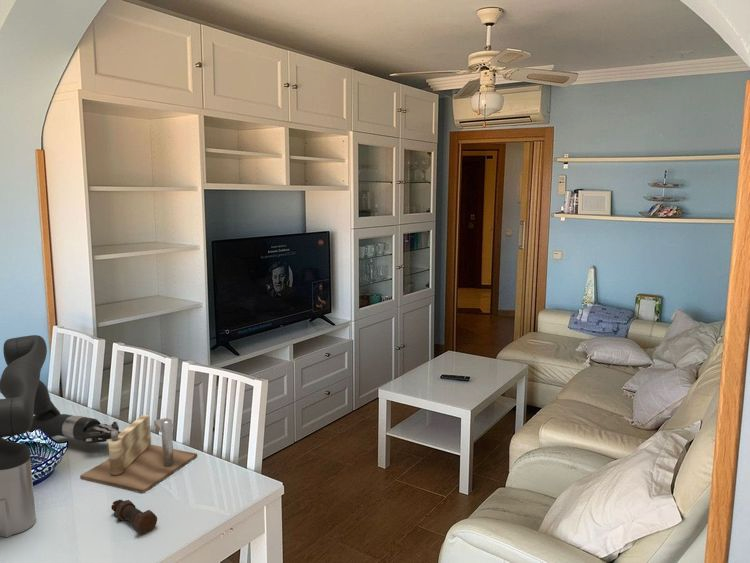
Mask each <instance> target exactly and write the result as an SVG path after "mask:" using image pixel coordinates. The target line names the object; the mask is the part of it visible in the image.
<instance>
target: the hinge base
mask: <svg viewBox="0 0 750 563" xmlns="http://www.w3.org/2000/svg"><path fill="white" fill-rule="evenodd" d="M111 438H112V440H113V441H115V440H118V431H117V430H114V431H111ZM197 457H198V453H196V452H190V451H187V450H181V449H176V448H173V458H174V465H173V466H170V467H164V466H163V449H162V445H156V444H151V445H150V446H149V447H148V448H147V449H146V450H145V451H143V452H142V453H141V454H140V455H139V456H138V457H137V458H136V459H135V460H134V461H133V462H132V463H131V464H130V465H128V466H127V467H126V468H125V469H124V472H123V473H122V474H119V475H111V473H110V459H109V458H108V459H106V460H105V461H103V462H102V463H100V464H98V465H96V466H94V467H93V468H90V469H89V470H87V471H86V472H85V471H84V473H81V474H80V475H79V478H80V479H81V480H84V481H89V482H93V483H97V484H102V485H106V486H110V487H114V488H119V489H122V490H127V491H131V492H136V493H140V494H145V493H146V492H148V491H149V490H151V489H152V488H154V487H155V486H156V484H157V485H158V484H159V482H160V483H161V482H162V481H164V480H165V479H167V478H168V477H170V476H171V475H173V474H174V473H176V472H177V471H179V470H180V469H181V468H183V467H185V466H186V465H188V464H189V463H190V462H192V461H193V460H194V459H196V458H197ZM153 486H154V487H153Z"/></svg>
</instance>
